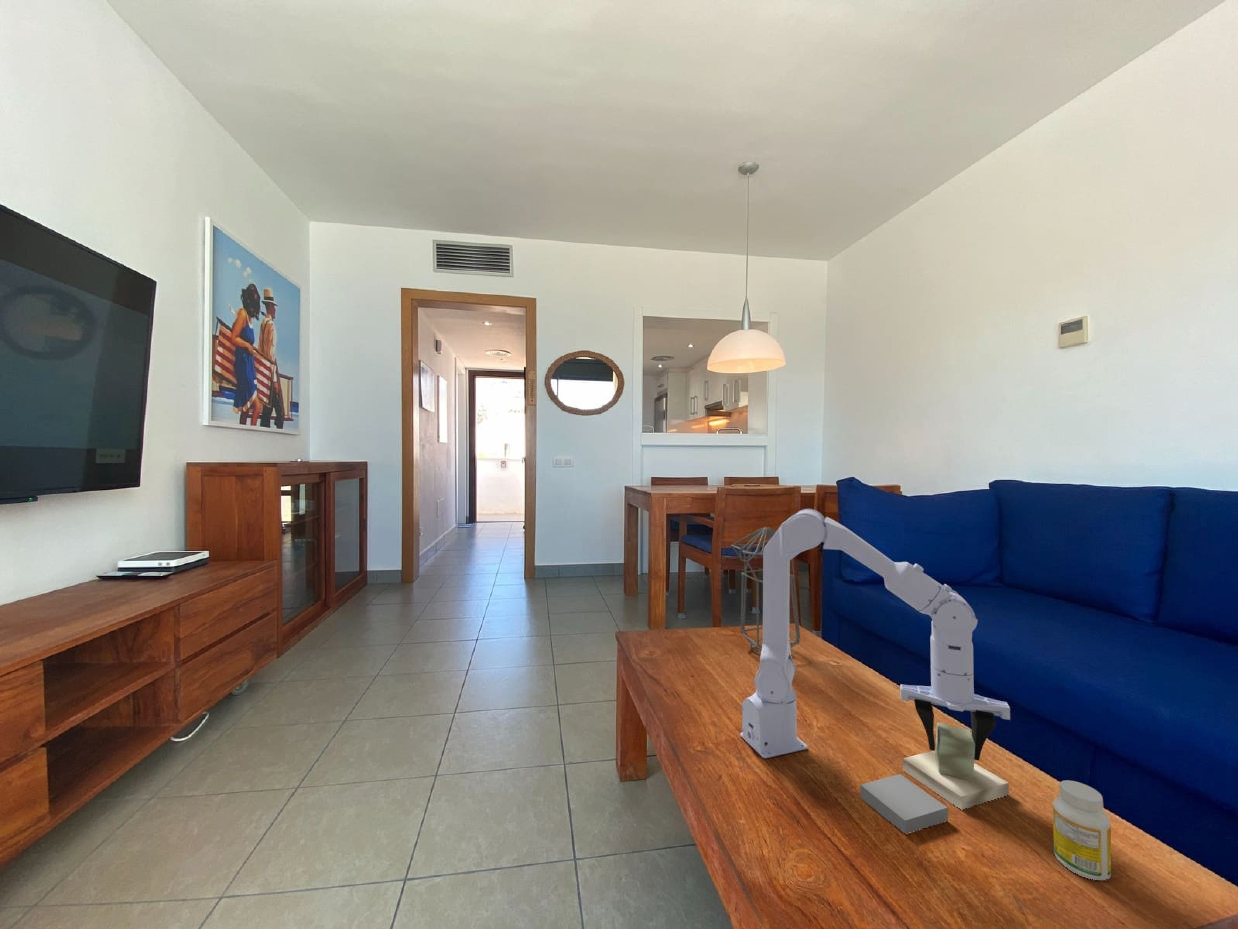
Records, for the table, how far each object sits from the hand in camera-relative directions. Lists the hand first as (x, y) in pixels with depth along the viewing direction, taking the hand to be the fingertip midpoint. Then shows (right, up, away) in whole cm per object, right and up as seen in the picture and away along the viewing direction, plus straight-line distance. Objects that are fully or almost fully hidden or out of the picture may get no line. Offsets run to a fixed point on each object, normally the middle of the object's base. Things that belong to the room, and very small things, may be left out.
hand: (953, 752), depth 78 cm
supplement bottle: (+5, -5, -16) cm, 18 cm away
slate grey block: (-12, -5, -6) cm, 14 cm away
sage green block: (0, -3, 0) cm, 3 cm away
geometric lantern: (-13, -6, +55) cm, 56 cm away
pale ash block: (0, -5, 0) cm, 5 cm away
